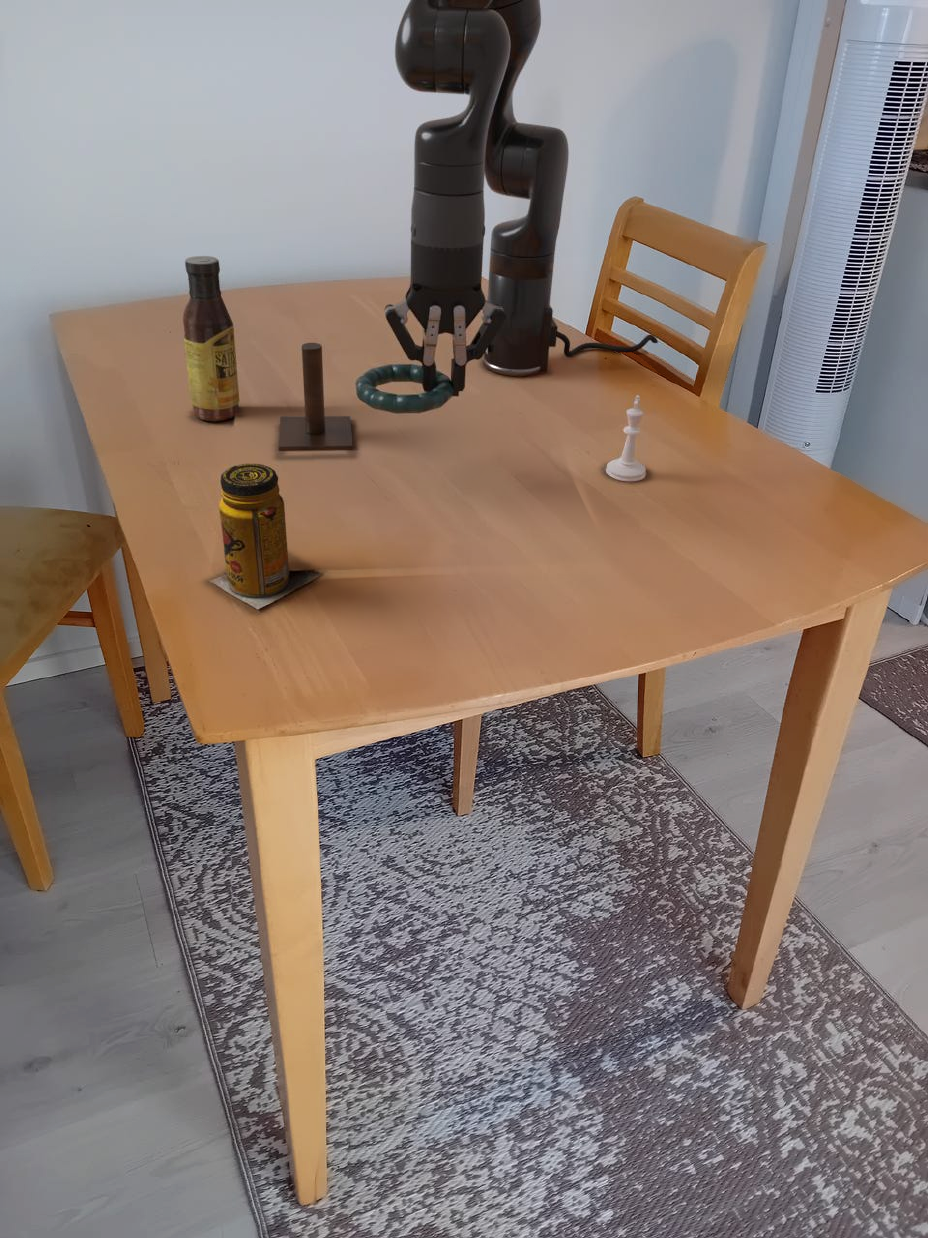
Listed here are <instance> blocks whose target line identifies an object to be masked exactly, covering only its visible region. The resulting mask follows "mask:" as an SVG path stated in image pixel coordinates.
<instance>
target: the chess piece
mask: <svg viewBox="0 0 928 1238" xmlns="http://www.w3.org/2000/svg"><path fill="white" fill-rule="evenodd" d="M640 397H641V395H637V394H636V395H635V398H634V402H633V404H632V408H629V409H627V410H626V417H627V423H628V425H626V426H624V428H623V429H622V431H623V432H624V434H626V435H627V436H626V440H625V443H624V447H623V450H622V453H621V456H620V457H618V458H616V459H612V460H610V461H609V462H608V463H606V464H607V465H606V468H605V472H606V474H607V475H608V476H609V477H610V478H612V479H614V480H617V481H622V482H639V481H641V480H644V478H645V477H646V475H647V473H646V470H647V469H646V467H645V465H644V464H643V463H641V462H639V461H637V459H636V436H638V435H640V434H642V430H641V428H640V427H638V426H639V424H640V422H641V420H642V419H643V417H644V411H643V410H642V409H640V408H639V404H640V402H641V399H640Z"/></svg>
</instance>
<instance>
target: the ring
mask: <svg viewBox="0 0 928 1238" xmlns="http://www.w3.org/2000/svg"><path fill="white" fill-rule="evenodd" d="M390 383H415V384H420V385H422V365H419V364H414V363H390V364H385V365H381V366H377V367H373V368H370V369H368V370H367V371H365V372H364V373H363V374H361V375H360V376H358V378H357V379H356V381H355V391H356V397H357V398H358V399H359V401H360V402H361V403H364V404H366V405H367V406H368V407H370V408H372V409H374V410H378V411H382V412H385V413H386V412H387V413H392V414H396V415H397V414H399V415H400V414H403V415H404V414H422V413H427V412H430V411H433V410H438V409H440V408H442V407H443V406H444V405H445V404H446V403H448V401H449V400H451V399H452V397H454V396H453V392H454V391H453V387H452V384H451V377H449V376H448V375H447V374H444V373H443V372H441V371H439V370H437V369H436V387H435V388H434V389H433V390H432V391H429V392H421V393H417V394H396V393H390V392H386V391H381V390H379V389H378V386H382V385H386V384H390Z"/></svg>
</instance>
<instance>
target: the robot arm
mask: <svg viewBox="0 0 928 1238" xmlns="http://www.w3.org/2000/svg"><path fill="white" fill-rule="evenodd" d="M541 26H542V9H541V0H409V2H408V4H407V6H406V8H405V10H404V12H403V15H402V17H401V20H400V23H399V25H398V29H397V32H396V37H395V43H394V59H395V60H394V61H395V65H396V70H397V72H398V73H399V76H400V78H401V80H402V81H403V83H404V84H405V85H406V86H407V87H408V88H410V90H413V91H416V92H420V93H430V94H431V93H433V94H448V95H449V94H450V95H467V96H469V99H468V103H467V106H466V107H465V109H464V110H462V112H460V113H458V114H456V115H453V116H449V117H444V118H438V119H433V120H428V121H425V122H423V123H421V124H420V125H419V126H418V127H417V129H416V131H415V134H414V142H413V143H414V146H413V157H414V158H413V166H414V167H413V193H412V194H413V195H412V200H411V201H412V202H411V208H410V282H409V283H410V284H409V288H408V289H407V291H406V293H405V298H404V299H402V300H401V301H399V302H397V303H395V304H391V303H390V304H389V303H388V304H387V305H386V306H385V307H384V315H385V320H386V321H387V323H388V325H389V327H390V329H391V330H392V332H393V334H394V337H396V339H397V341H398V343H399V345H400V347H401V348H402V350H403V352H404V354H405V355H406V358H407V359H408V360H409V361H411V362H412V361H417V362H419V363H421V366H422V384H421V386H422V389H423V393H425V392H429V391H432V390H433V389H434V388H435V387H436V370H437V364H436V361H435V358H436V350H437V349H436V348H437V345H438V337H439V335H443V334H449V335H451V338H452V339H451V340H452V354H453V358H451V361H450V362H451V363H450V364H451V365H450V380H451V384H452V387H453V391H454V392H453V396H452V397H459V396H460V392H464V390H465V388H466V369H467V364H468V363H469V362H471V361H474V360H477V361H480V360H481V359H482V358H483V359H482V365H483V366H484V368H486V369H487V370H489V371H490V372H492V373H497V374H499V375H504V376H509V377H526V376H527V377H528V376H534V375H536V374H540V373H547V372H548V365H549V354H550V348H556V346H557V338H558V339H560V340H561V341H562V342H563V343H564V347H563V354H564V355H565V356H566V357H567V358H571V357H574V356H575V355H577V354H578V353H580V352H581V351H584V350H589V349H597V350H598V349H599V350H605V351H610V352H615V353H634V352H637V351H639V350H641V349H642V348H643V347H644V346H645V345H647V344H648V343H649V341H650V342H651V343H653V344H658V343H659V340H658V339H657V337H655V335H653V334H647V335H646V336H645V337H644V338H643V339H642V340H641V341H640V342H639V343H637V344H635V345H633V346H621V345H619V346H618V345H613V344H608V343H601V342H585V343H582V344H579V345H578V346H575V348H573V349H572V350H570V349H571V341H570V339H569V337H568V336H567V335H566V334H564V333H562V332H560V331H558V328H559V327H558V325H557V323H556V321H555V320H554V319H553V314H554V309H553V307H552V306H551V295H552V284H553V276H554V274H553V273H554V266H555V265H554V264H555V255H556V247H557V246H556V245H557V238H558V234H559V229H560V225H561V217H562V208H563V200H564V194H565V188H566V181H567V176H568V168H569V155H570V150H569V142H568V137H567V135H566V133H565V132H564V130H562V129H561V128H557V127H555V126H554V127H553V126H547V125H540V124H534V123H525V122H518V121H517V119H516V117H515V113H514V103H513V101H514V100H513V99H514V97H513V95H514V90H515V87H516V84H517V82H518V79H519V77H520V75H521V73H522V71H523V69H524V67H525V65H526V63H528V60H529V58H530V56H531V54H532V52H533V49H534V47H535V45H536V43H537V40H538V37H539V34H540V32H541V31H540V30H541ZM485 182H486V184H487V186H488V187H489V189H490V190H491V191H492V192H494V193H495V194H497V195H500V196H501V195H502V196H506V197H511V198H516V199H517V198H518V199H523V200H529V205H528V210H527V213H526V214H525V215H523V216H522V217H519V218H515V219H509V220H506V221H502V222H499V223H497V224H496V225H494V227H493V228H492V230H491V234H490V235H491V237H490V250H489V251H490V252H489V266H488V267H489V268H488V285H487V288H488V289H487V299H486V296H485V294H484V291H483V288H482V280H483V279H482V277H483V262H484V261H483V260H484V241H485V240H484V239H485V235H486V224H485V221H486V220H485V219H486V207H485V194H484V193H485V190H484V188H485ZM409 311H410V312H411V313H412V315H413V316H414V318H415V319H416V320H417V322H418V323H419V325H420V326H421V327H422V342H421V345H418V344H416V343H415V341H414V339H413V337H412V336H411V334H410V332H409V330H408V328H407V326H406V324H407V323H408V321H409V320H408V319H409V318H408V315H407V314H408V312H409ZM481 311H482V314H481V321H482V323H481V325H480V327H479V328H478V330H477V331H476V333H475V335H474V336H473V338H472V340H471V342H470V343H469V344H468V345H467V329H468V328H469V326H471V324H472V323H473V321H474V320H475V318H477V316H478V315H479V314H480V312H481Z"/></svg>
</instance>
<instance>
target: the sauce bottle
mask: <svg viewBox="0 0 928 1238" xmlns="http://www.w3.org/2000/svg"><path fill="white" fill-rule="evenodd" d="M184 265H185V271H186V274H187V280H188V288H189V290H188V295H189V296H190V297H189V300H188V302H187V304H186V305H185V308H184V311H183V315H182V325H183V341H184V351H185V359H186V369H187V370H186V371H187V379H188V388H189V398H190V403H191V405H192V413H193V415H194V417H196V418H197V419H198V420H202V421H208V422H221V421H225V420H230V419H232V418H234V417H236V414H237V413H236V412H237V411H239V403H240V391H239V378H238V366H237V364H238V363H237V352H236V342H235V329H234V323H233V320H232V318H231V316H230V313H229V310H228V309H227V307H226V303H225V302H224V299H223V297H222V291H221V285H220V284H221V283H220V272H221V267H220V260H219V259H218V258H216V257H214V256H209V255H198V256H197V255H196V256H190V257H187V258H185V260H184Z"/></svg>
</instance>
